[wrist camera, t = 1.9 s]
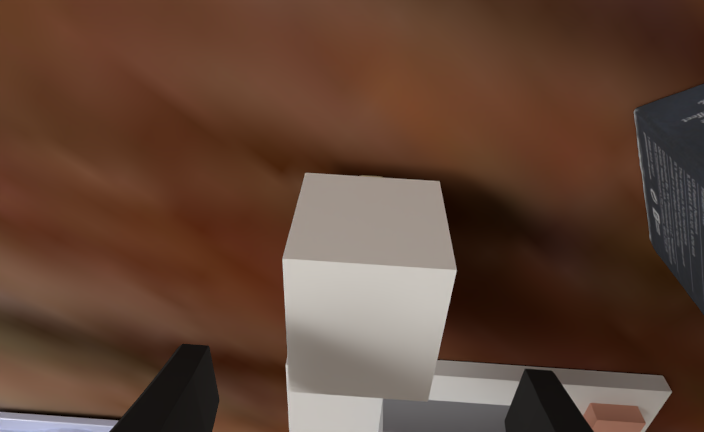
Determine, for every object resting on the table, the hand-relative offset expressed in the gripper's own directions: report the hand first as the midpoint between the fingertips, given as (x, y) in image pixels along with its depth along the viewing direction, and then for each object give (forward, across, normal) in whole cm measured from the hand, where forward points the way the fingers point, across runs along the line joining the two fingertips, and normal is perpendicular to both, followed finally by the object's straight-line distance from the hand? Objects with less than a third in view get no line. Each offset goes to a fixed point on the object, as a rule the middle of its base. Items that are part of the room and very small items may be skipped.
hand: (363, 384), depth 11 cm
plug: (+7, 0, 0) cm, 7 cm away
